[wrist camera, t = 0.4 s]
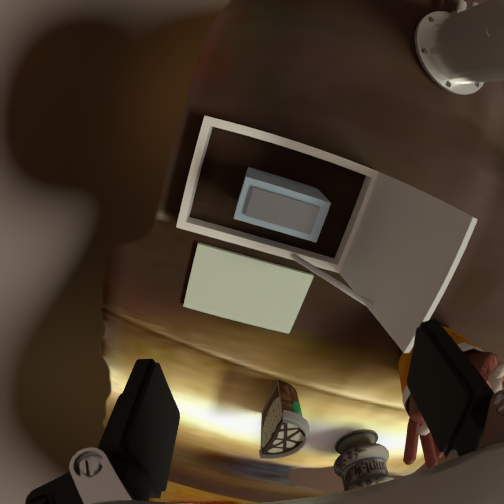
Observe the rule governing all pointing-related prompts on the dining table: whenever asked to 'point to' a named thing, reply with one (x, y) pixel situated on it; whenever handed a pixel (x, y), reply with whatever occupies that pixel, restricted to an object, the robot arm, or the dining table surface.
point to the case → (365, 240)
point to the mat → (245, 288)
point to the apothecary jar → (361, 460)
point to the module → (282, 205)
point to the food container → (282, 423)
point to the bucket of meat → (416, 425)
